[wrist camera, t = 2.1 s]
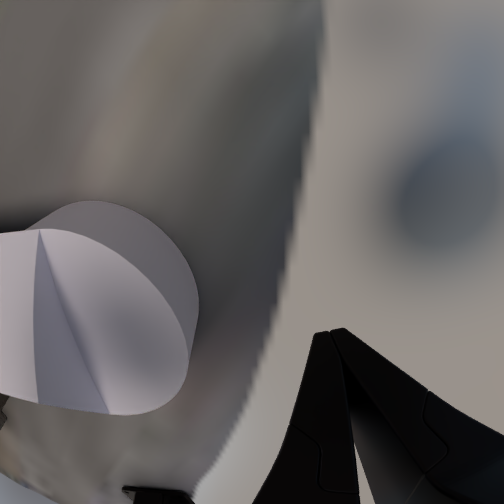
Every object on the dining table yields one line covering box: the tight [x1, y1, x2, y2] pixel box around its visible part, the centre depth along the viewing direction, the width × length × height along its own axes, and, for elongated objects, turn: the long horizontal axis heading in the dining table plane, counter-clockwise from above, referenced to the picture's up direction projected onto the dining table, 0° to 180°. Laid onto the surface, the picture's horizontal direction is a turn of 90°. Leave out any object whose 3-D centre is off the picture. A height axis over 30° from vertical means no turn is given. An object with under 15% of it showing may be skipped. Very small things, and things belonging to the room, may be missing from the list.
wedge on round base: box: [0, 200, 199, 415], centre depth 11 cm, size 9×7×13 cm
